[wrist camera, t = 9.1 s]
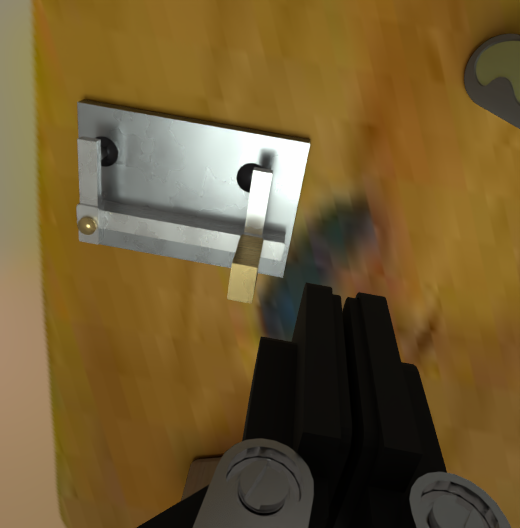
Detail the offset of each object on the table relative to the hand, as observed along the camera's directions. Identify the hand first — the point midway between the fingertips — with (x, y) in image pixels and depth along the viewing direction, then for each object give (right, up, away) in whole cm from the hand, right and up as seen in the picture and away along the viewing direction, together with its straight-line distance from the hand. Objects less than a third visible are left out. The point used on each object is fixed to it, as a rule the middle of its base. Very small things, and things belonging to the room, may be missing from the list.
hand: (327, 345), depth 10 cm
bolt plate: (-7, +8, +30) cm, 32 cm away
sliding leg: (-2, +6, +28) cm, 29 cm away
